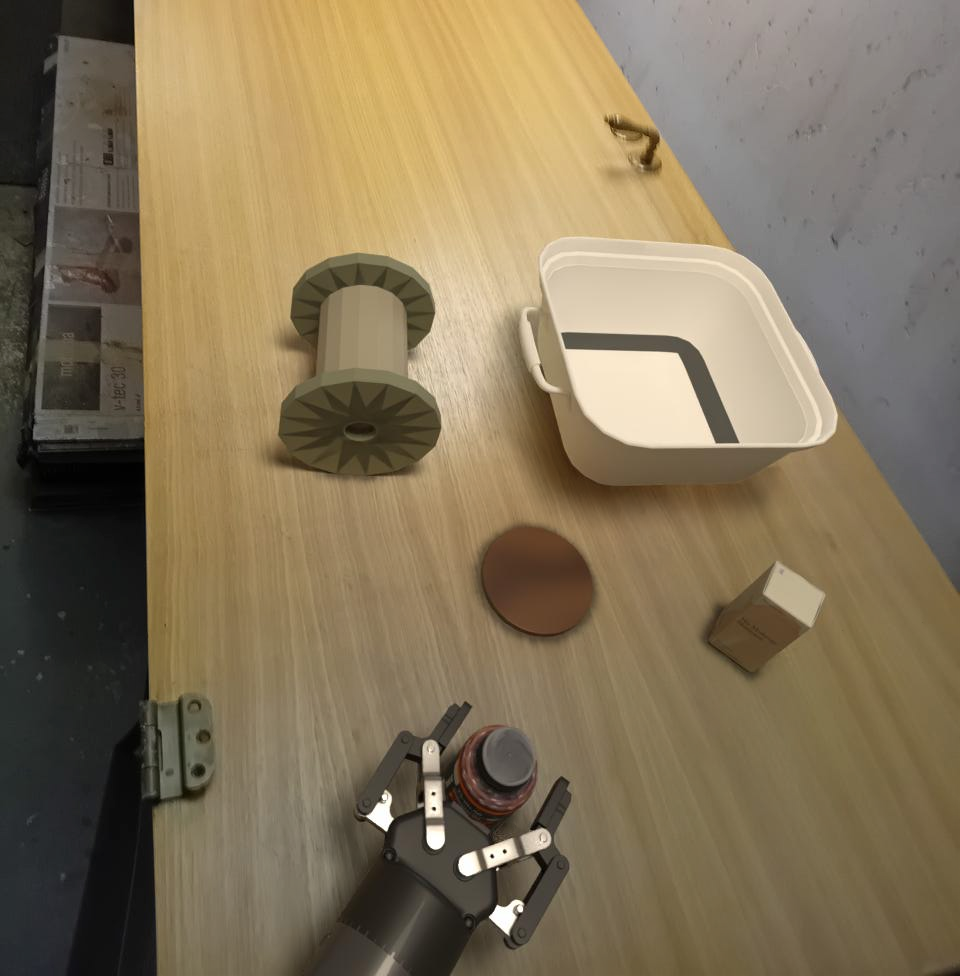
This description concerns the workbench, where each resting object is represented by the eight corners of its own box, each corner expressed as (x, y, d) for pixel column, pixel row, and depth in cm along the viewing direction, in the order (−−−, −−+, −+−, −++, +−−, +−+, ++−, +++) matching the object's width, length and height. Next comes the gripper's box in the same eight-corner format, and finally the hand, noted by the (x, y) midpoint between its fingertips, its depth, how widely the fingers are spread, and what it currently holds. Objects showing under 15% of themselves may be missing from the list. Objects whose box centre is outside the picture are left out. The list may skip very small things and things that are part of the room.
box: (706, 641, 82) (759, 590, 74) (722, 609, 85) (775, 556, 77) (754, 676, 80) (813, 628, 73) (768, 642, 83) (827, 592, 75)
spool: (424, 479, 87) (454, 389, 76) (274, 470, 83) (284, 374, 73) (420, 356, 98) (445, 263, 87) (287, 344, 94) (297, 245, 84)
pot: (518, 530, 85) (561, 447, 75) (474, 320, 104) (504, 230, 93) (807, 520, 95) (882, 445, 84) (720, 329, 113) (773, 248, 102)
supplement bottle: (425, 817, 66) (454, 776, 58) (453, 744, 70) (484, 696, 62) (494, 853, 66) (534, 816, 57) (519, 777, 70) (559, 732, 62)
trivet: (613, 596, 83) (615, 593, 82) (532, 659, 77) (534, 657, 76) (540, 511, 87) (541, 508, 87) (458, 565, 81) (459, 562, 81)
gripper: (489, 1051, 47) (613, 792, 58) (293, 878, 50) (445, 663, 61) (461, 1057, 53) (579, 819, 63) (286, 901, 56) (426, 700, 66)
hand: (513, 743), depth 62 cm, fingers open, 8 cm apart
